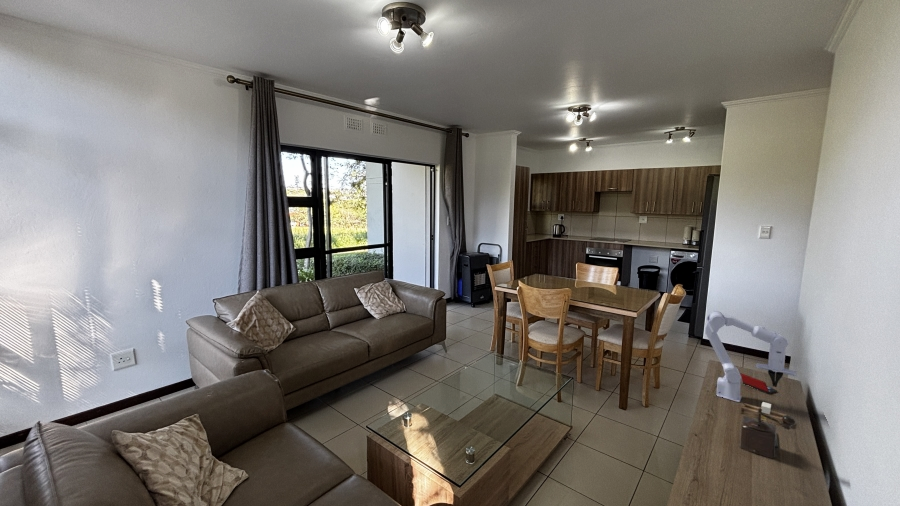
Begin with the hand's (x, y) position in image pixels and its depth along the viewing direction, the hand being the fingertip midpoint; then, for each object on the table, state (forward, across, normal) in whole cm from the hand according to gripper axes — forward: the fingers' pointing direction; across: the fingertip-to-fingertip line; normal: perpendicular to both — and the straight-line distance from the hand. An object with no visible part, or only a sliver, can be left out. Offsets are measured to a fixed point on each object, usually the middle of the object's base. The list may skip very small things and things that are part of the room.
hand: (774, 386), depth 175 cm
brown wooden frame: (+10, -2, -17) cm, 20 cm away
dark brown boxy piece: (+10, +1, -47) cm, 48 cm away
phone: (+10, 0, -37) cm, 38 cm away
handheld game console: (+10, -8, +17) cm, 21 cm away
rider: (+9, -2, -17) cm, 19 cm away
